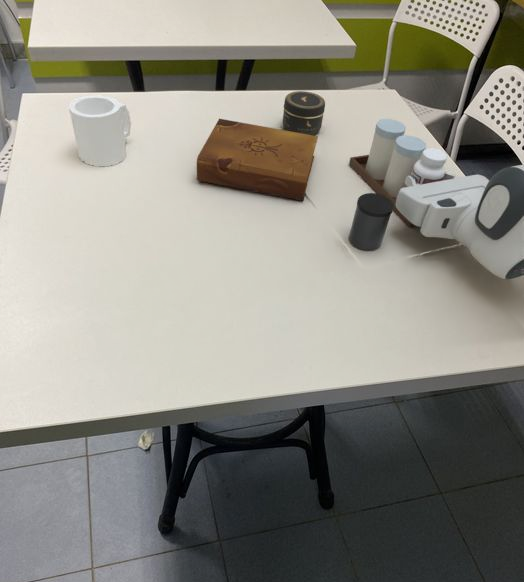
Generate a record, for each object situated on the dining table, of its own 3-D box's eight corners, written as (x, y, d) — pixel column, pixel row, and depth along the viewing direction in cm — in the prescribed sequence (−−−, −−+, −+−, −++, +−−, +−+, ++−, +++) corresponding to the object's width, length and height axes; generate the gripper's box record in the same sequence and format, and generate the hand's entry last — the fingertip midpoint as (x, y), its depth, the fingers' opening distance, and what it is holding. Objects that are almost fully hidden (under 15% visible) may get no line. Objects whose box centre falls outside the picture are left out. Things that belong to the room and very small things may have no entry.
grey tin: (369, 230, 99) (381, 190, 92) (387, 250, 95) (400, 210, 89) (341, 236, 97) (351, 196, 90) (358, 256, 93) (369, 216, 86)
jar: (288, 141, 120) (292, 109, 114) (276, 122, 126) (279, 91, 120) (326, 138, 123) (332, 107, 117) (312, 120, 129) (317, 89, 123)
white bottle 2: (399, 181, 111) (415, 133, 103) (415, 196, 108) (432, 148, 99) (376, 185, 109) (390, 137, 101) (391, 200, 106) (407, 152, 97)
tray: (348, 167, 115) (350, 157, 113) (383, 161, 118) (385, 151, 116) (408, 230, 100) (412, 220, 98) (446, 222, 103) (451, 212, 101)
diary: (196, 183, 105) (196, 158, 101) (218, 142, 117) (219, 118, 113) (302, 202, 103) (306, 178, 99) (313, 159, 116) (318, 135, 111)
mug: (111, 133, 116) (104, 85, 108) (145, 147, 113) (140, 99, 105) (69, 156, 108) (57, 106, 100) (105, 171, 105) (96, 122, 97)
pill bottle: (435, 203, 104) (455, 153, 95) (425, 216, 100) (445, 165, 92) (408, 192, 106) (425, 142, 97) (397, 205, 102) (414, 154, 94)
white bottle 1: (382, 164, 115) (395, 117, 107) (396, 178, 112) (411, 130, 103) (359, 168, 113) (371, 120, 105) (373, 182, 110) (386, 134, 102)
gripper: (517, 190, 92) (470, 154, 100) (428, 208, 85) (386, 168, 93) (502, 219, 97) (458, 182, 105) (417, 238, 90) (377, 197, 98)
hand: (423, 175), depth 99 cm, fingers closed on pill bottle, 6 cm apart
